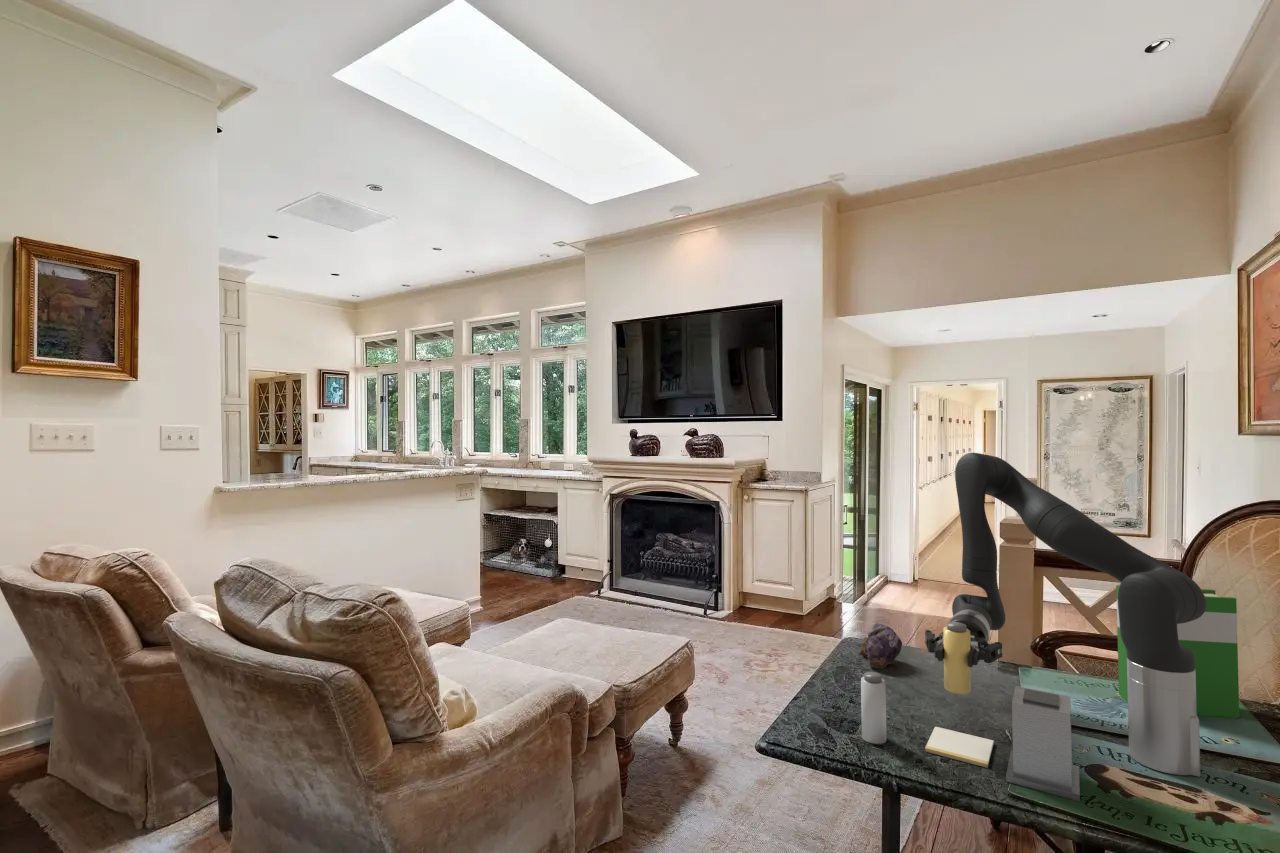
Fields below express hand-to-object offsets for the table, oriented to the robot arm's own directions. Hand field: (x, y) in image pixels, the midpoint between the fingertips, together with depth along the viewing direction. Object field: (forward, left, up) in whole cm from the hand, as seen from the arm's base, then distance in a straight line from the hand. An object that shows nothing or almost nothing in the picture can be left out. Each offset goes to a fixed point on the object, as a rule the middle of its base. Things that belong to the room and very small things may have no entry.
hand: (954, 658), depth 112 cm
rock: (+23, -39, -17) cm, 48 cm away
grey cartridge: (+14, +2, -17) cm, 22 cm away
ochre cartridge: (0, -3, -6) cm, 7 cm away
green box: (-35, -47, -17) cm, 61 cm away
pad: (0, -3, -17) cm, 17 cm away
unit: (-13, 0, -17) cm, 22 cm away
